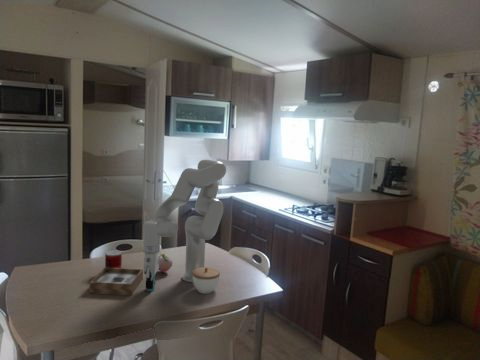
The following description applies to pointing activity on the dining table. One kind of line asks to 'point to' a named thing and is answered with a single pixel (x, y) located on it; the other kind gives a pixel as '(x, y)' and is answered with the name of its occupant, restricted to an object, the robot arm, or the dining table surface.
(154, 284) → the peg
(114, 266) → the canned food
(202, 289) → the lidded bowl
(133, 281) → the bore box
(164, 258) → the decorative fruit
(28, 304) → the dining table surface
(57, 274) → the dining table surface
